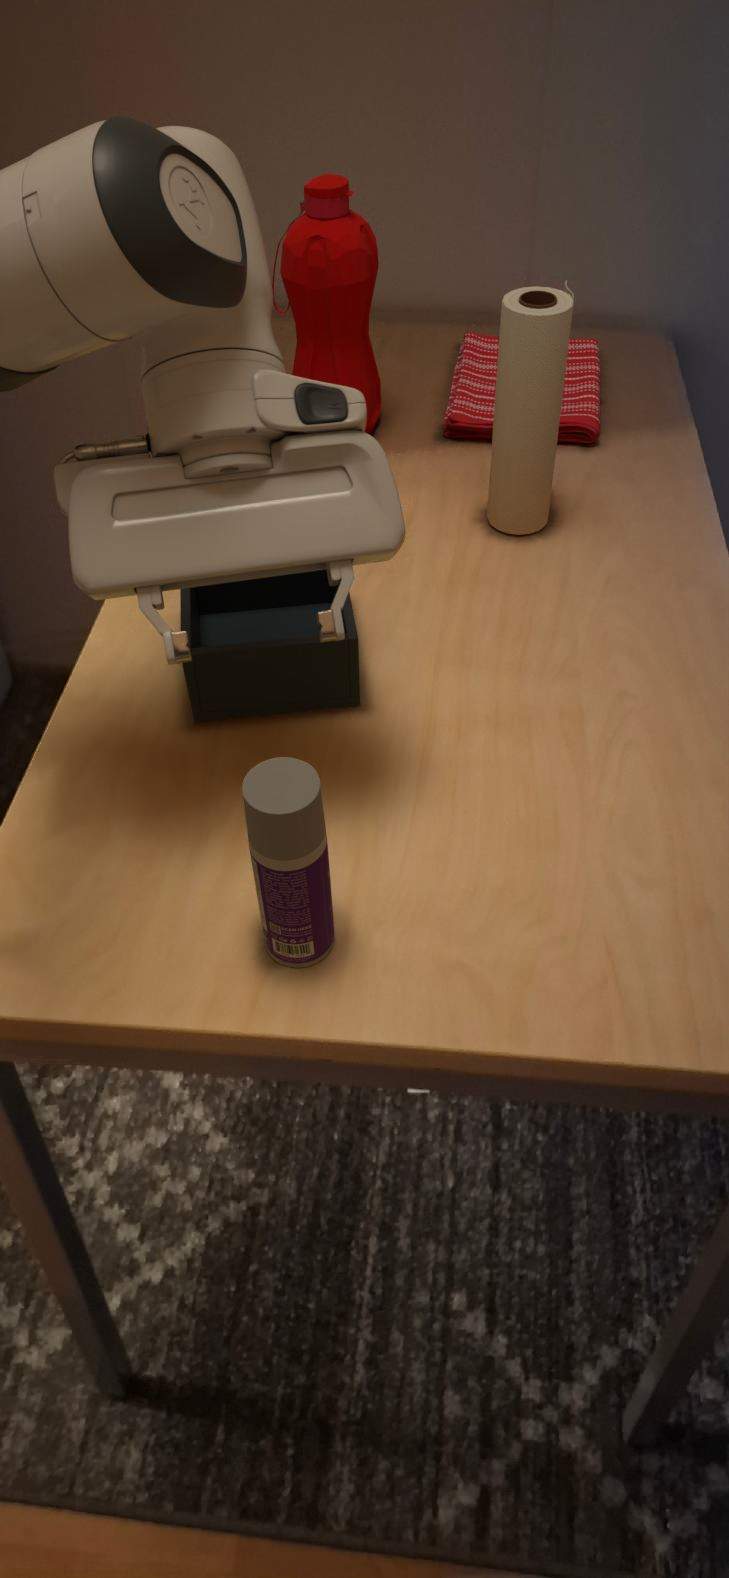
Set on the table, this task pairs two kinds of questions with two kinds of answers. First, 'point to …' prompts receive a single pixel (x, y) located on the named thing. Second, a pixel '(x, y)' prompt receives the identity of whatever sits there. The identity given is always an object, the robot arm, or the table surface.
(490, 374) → the dish towel
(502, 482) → the paper towel roll
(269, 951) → the container
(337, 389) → the robot arm
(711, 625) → the table surface
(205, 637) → the tub
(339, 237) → the water bottle
